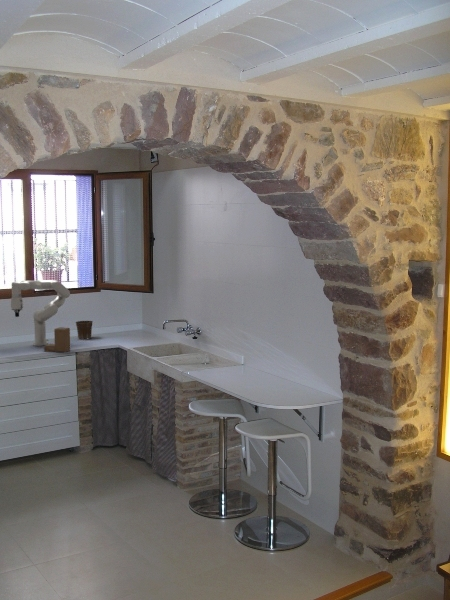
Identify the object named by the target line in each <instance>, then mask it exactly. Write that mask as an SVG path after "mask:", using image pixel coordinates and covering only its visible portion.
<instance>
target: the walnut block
mask: <svg viewBox="0 0 450 600" xmlns="http://www.w3.org/2000/svg"><path fill="white" fill-rule="evenodd" d="M43 347H44V348H43V349H44V352H48V353H49V352H51V353H52V352H53V353H55V343H49V344H47V345H43Z"/></svg>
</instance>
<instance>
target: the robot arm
mask: <svg viewBox="0 0 450 600" xmlns="http://www.w3.org/2000/svg"><path fill="white" fill-rule="evenodd" d="M28 290H37V291H38V290H39V291H44V290H46V291H47V290H48V291H49V290H54V291H55V292H56V293H57V295H56V297H55V298H54V299H53V300H51V301H50V302H49V303H47V304H45V306H44V308H43V310H42V309H37V310H35V311H34V313H33V317H32V318H33V323H34V326H33V327H34V343H33V346H34V347H35V346H37V347H39V346H40V347H41V346H43V347H44V346H45V345H48V342H49V338H47V337H46V336H47V335H46V334H47V333H46V321H48V320H49V319H51V318H52V317H54V316H56V314H57V313H58V311H59V308H60V307H62V306H63V305H64V303H65V301H66V299H68V298H69V297H70V295H71V291H70V290H69V289H68V288H67V287H66V286H64V284H62V283H61V282H60V281H59V280H56V279H44V280H43V279H42V280H21V281H13V282H11V299H10V308H11V310H12V311H13V312H14V316H15V318H18V317H20V311H23V309H24V302H23V296H22V291H28Z"/></svg>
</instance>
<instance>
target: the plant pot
mask: <svg viewBox="0 0 450 600" xmlns="http://www.w3.org/2000/svg"><path fill="white" fill-rule="evenodd" d="M75 325H76V331H77V338H79V339H78V340H88V339H87V338H90V339H92V329H93V320H78V321H75Z"/></svg>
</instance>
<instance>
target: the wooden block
mask: <svg viewBox="0 0 450 600" xmlns="http://www.w3.org/2000/svg"><path fill="white" fill-rule="evenodd" d="M53 331H54V344H55V352H56V353H66V352H69V351H71V329H70V327H63V326H61V327H60V326H59V327H56V328H54V330H53ZM55 352H54V353H55Z"/></svg>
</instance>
